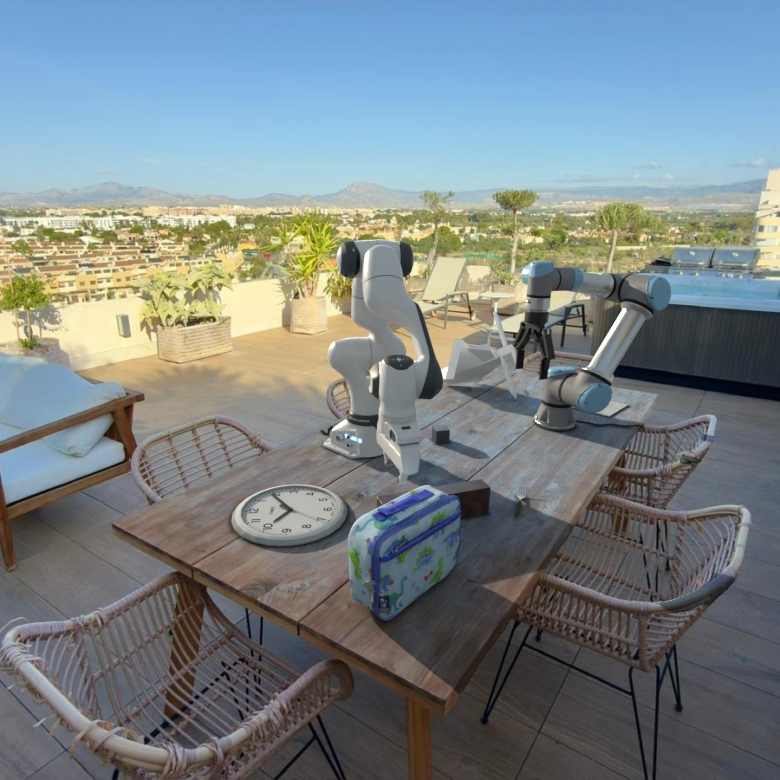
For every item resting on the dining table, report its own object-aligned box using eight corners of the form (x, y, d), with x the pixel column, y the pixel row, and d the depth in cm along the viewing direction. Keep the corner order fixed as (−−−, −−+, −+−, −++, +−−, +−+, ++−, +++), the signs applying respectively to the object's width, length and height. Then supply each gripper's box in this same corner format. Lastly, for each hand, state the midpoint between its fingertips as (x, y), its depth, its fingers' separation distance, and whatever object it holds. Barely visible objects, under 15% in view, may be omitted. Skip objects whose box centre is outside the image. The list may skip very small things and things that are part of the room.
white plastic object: (461, 429, 252) (437, 405, 227) (444, 352, 274) (420, 323, 250) (535, 404, 240) (518, 377, 215) (510, 326, 262) (492, 293, 237)
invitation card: (608, 416, 214) (573, 407, 224) (608, 416, 214) (573, 408, 224) (628, 404, 229) (594, 396, 238) (628, 405, 229) (594, 397, 238)
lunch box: (378, 635, 98) (379, 537, 91) (341, 606, 105) (340, 513, 99) (464, 574, 115) (470, 488, 109) (427, 553, 122) (431, 471, 116)
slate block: (444, 437, 190) (445, 425, 189) (449, 443, 185) (450, 430, 184) (431, 438, 189) (432, 425, 187) (435, 444, 184) (436, 431, 183)
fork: (510, 517, 138) (511, 510, 137) (518, 490, 152) (518, 484, 152) (520, 519, 137) (521, 512, 137) (527, 491, 152) (528, 485, 151)
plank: (479, 505, 144) (481, 478, 142) (488, 514, 140) (490, 487, 137) (376, 523, 134) (376, 496, 132) (382, 534, 130) (383, 505, 127)
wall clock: (347, 538, 125) (219, 542, 122) (347, 544, 125) (219, 548, 123) (347, 480, 153) (242, 482, 151) (347, 485, 154) (243, 487, 151)
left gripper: (370, 409, 133) (370, 458, 138) (399, 441, 115) (397, 496, 119) (394, 407, 135) (392, 455, 140) (425, 437, 117) (423, 492, 122)
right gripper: (506, 305, 179) (501, 365, 185) (551, 317, 156) (543, 384, 163) (524, 304, 181) (519, 363, 188) (571, 316, 159) (563, 382, 165)
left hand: (395, 474), depth 129 cm, fingers open, 8 cm apart
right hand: (530, 373), depth 175 cm, fingers open, 13 cm apart
